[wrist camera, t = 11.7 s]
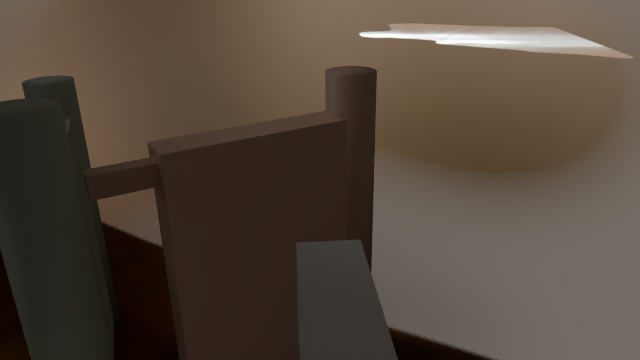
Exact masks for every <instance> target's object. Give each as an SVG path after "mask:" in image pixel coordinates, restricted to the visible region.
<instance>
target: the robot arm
mask: <svg viewBox="0 0 640 360" xmlns="http://www.w3.org/2000/svg"><path fill="white" fill-rule="evenodd" d="M296 253H297V295H298V336H299V349H300V360H398V359H397V355H396V352H395V349H394V346H393V342H392V339H391V336H390V333H389V330H388V326H387V323H386V320H385V317H384V314H383V311H382V307H381V304H380V301H379V298H378V294H377V291H376V288H375V285H374V282H373V278H372V275H371V272H370V269H369V266H368V262H367V259H366V256H365V253H364V249H363V246H362V243H361V240H339V241H318V242H298V243H296Z"/></svg>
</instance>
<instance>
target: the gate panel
mask: <svg viewBox="0 0 640 360" xmlns="http://www.w3.org/2000/svg"><path fill="white" fill-rule="evenodd" d="M325 74H326V77H325V78H326V111H323V112H317V113H311V114H306V115H300V116H294V117H289V118H283V119H277V120H272V121H266V122H260V123H254V124H249V125H243V126H238V127H232V128H226V129H221V130H215V131H209V132H203V133H197V134H192V135H186V136H181V137H175V138H169V139H163V140H158V141H152V142H148V148H149V155H150V158H145V159H141V160H135V161H129V162H124V163H119V164H113V165H108V166H103V167H97V168H92V169H87V170H82V171H83V176H84V181H85V186H86V191H87V195H88V197H89V199H90V201H94V200H98V199H103V198H108V197H112V196H116V195H121V194H126V193H131V192H135V191H140V190H145V189H149V188H153V187H154V189H155V196H156V203H157V210H158V217H159V224H160V231H161V238H162V245H163V252H164V259H165V265H166V272H167V279H168V286H169V293H170V300H171V307H172V314H173V321H174V327H175V334H176V341H177V348H178V355H179V360H300V349H299V336H298V295H297V253H296V243H298V242H318V241H339V240H361V243H362V246H363V249H364V253H365V256H366V259H367V262H368V266H369V269H370V272H371V260H372V225H373V223H372V222H373V189H374V153H375V152H374V151H375V115H376V79H377V71H376V70H375V69H373V68H368V67H359V66H343V67H334V68H330V69H327V70H326V72H325Z"/></svg>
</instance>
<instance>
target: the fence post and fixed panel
mask: <svg viewBox="0 0 640 360" xmlns="http://www.w3.org/2000/svg"><path fill="white" fill-rule="evenodd" d="M22 86H23V90H24V95H25V99H17V100H8V101H3V102H0V250H1V254H2V257H3V261H4V264H5V268H6V271H7V275H8V279H9V282H10V286H11V289H12V293H13V296H14V300H15V304H16V307H17V311H18V314H19V318H20V321H21V325H22V329H23V332H24V336H25V339H26V343H27V346H28V350H29V354H30V357H31V360H114V337H113V327H114V326H115V325H116V324H117V322H118V321H119V312H118V307H117V302H116V296H115V291H114V286H113V281H112V276H111V270H110V265H109V260H108V255H107V250H106V244H105V239H104V234H103V229H102V224H101V218H100V214H99V208H98V203H97V200H94V201H90V199H89V197H88V195H87V191H86V186H85V181H84V176H83V171H82V170H87V169H91V166H90V161H89V156H88V151H87V146H86V140H85V136H84V130H83V125H82V119H81V114H80V109H79V104H78V99H77V94H76V88H75V83H74V78H73V77H70V76H46V77H39V78H33V79H30V80H26V81H24V82H22Z"/></svg>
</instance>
